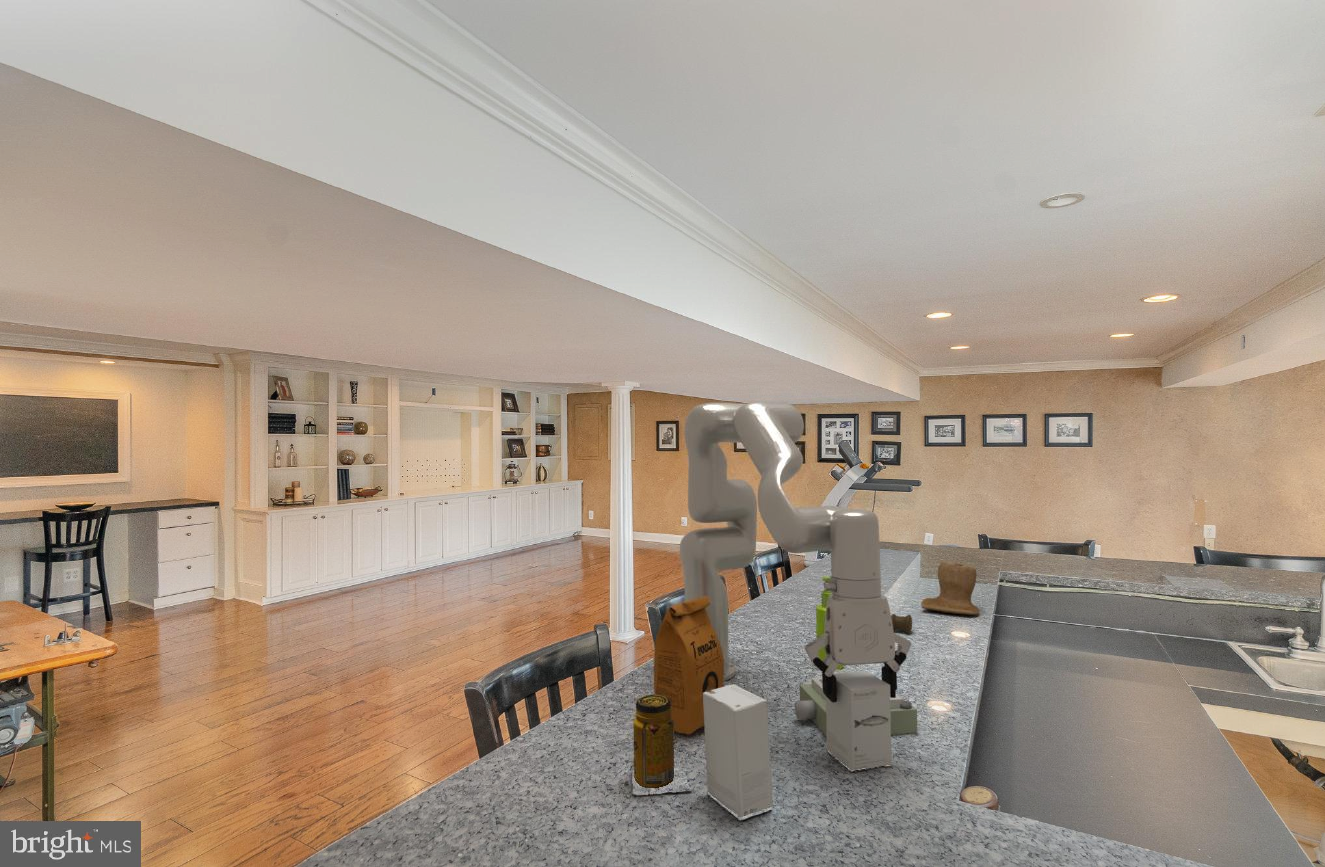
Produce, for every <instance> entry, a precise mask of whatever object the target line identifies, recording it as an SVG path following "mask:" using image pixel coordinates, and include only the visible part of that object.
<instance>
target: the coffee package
mask: <svg viewBox="0 0 1325 867" xmlns="http://www.w3.org/2000/svg"><path fill="white" fill-rule="evenodd" d="M709 605H710V602H709V599H708V597H707V596H704V597H701V598H697V599H693V600H690V601H686V602H685V601H681V602H678V603H676V604H674V605H672V606H669V607H668V608H667V611H666V613H665V615H664V618H663V619H662V623H661V624H660V627H659V629H658V631H657V635H656V636H655V644H654V645H655V646H654V653H653V654H654V655H653V656H654V657H653V658H654V659H653V664H654V665H653V690H654V691H653V695H661V696H665V697H667V698H668V699H669V700H670V702H671V712H672V713H671V716H672V718H673V720H674V732H676V733H679V734H686V735H691V734H692V733H694V732H695V731H696V730H698V729H701V728H702V727H703V728H704V707H703V693H704V692H707V691H710V690H714V689H718V688H721V687H725V684H724V682H725V681H724V658H723V653H722V648H721V645H720V643H719V640H718V637H717V635H716V633H715V630H714V629H713V627H712V626H711V623H710V619H709V616H708V613H707V611H706V610H705V607H707V606H709Z"/></svg>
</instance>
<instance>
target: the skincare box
mask: <svg viewBox="0 0 1325 867" xmlns="http://www.w3.org/2000/svg"><path fill="white" fill-rule="evenodd" d="M703 707H704V726H703V728H704V745H705V746H704V747H705V764H706V765H705V767H706V783H707V784H706V789H707V793H708V792H709V793H710V794H711V795H712V796H713V797H714V798H716V799H717V800H718V801H720V802H721V803H722V804H723V805H725V807H727V808H728V809H730V810H732V811H733V812H734V813H735V814H737V815H738V816H739V817H743V816H746V815H748V814H751V813H756V812H758V811H761V810H763V809H767V808H770V807H774V802H773V801H774V800H773V788H772V787H773V786H772V768H771V752H770V750H771V749H770V735H769V734H770V733H769V716H768V713H769V712H768V700H767V699H765V698H762V697H761V696H759V695H756V694H754V693H752V692H750V691H748V690H746V689H744V688H742V687H740V686H738V685H736V684H733V683H732V684H727V685H724V687H721V688H718V689H714V690H710V691H707V692H704V693H703Z"/></svg>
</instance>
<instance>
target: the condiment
mask: <svg viewBox="0 0 1325 867" xmlns="http://www.w3.org/2000/svg"><path fill="white" fill-rule="evenodd" d="M671 713H672V712H671V702H670V700H669V699H668V698H667V697H665V696H661V695H654V694H647V695H644V696H640V697H639V698H638V699H637V700H636V703H635V717H634V719H633V770H634V778H635V781H636V782H637V783H638V784H639V785H640V786H642V787H645V788H659V787H663V786H666V785H668V784H669V783H671V782H672V781H673V778H674V768H675V731H674V720H673V718H672V716H671Z"/></svg>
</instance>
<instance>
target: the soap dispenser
mask: <svg viewBox="0 0 1325 867" xmlns="http://www.w3.org/2000/svg"><path fill="white" fill-rule="evenodd" d="M830 576H831V575H830ZM830 576H829V575H828V576H822V577H821V579H822V581H823V582H828V581H830ZM829 595H832V593H831V591H829V590H825V589H824V590H822V591H821V604H819V605H816V606H815V609H816V610H815V621H816V622H815V624H816V625H815V626H816V628H815V629H816V632H815V633H816V638H815V639H817V638H818V637H820V636H822V635H823V634H824V631H825V615H826V608H827V602H828V597H829ZM818 656H819V658H820V659H821V660H822V661H823V659H824V658H825V657H826V653H825V647H823V648H821V649H820V650H818ZM844 666H845V665H841V664H840V665H839V666H838V667H837V669H839V670H842V669H844V668H845V667H844ZM841 668H842V669H841Z"/></svg>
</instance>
